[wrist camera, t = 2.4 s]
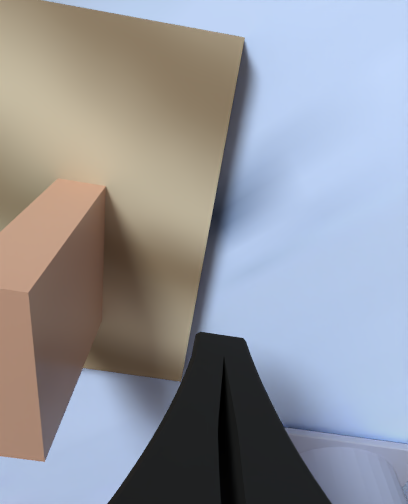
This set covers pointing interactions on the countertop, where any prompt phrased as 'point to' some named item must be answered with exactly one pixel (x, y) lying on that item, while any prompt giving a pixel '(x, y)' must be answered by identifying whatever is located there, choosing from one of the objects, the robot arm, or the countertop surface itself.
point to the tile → (48, 311)
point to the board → (122, 156)
